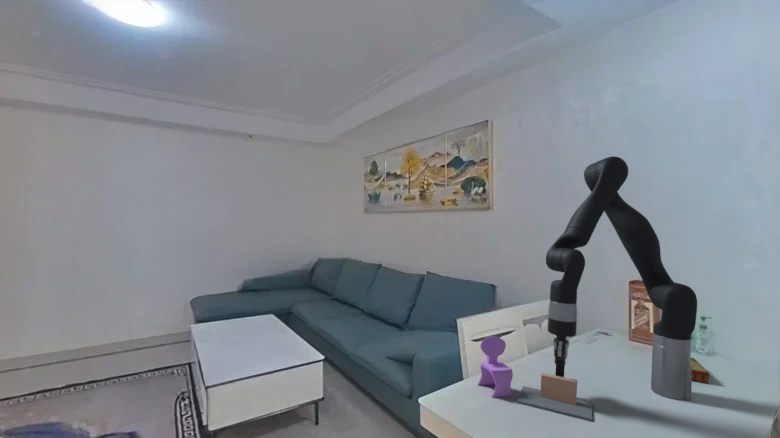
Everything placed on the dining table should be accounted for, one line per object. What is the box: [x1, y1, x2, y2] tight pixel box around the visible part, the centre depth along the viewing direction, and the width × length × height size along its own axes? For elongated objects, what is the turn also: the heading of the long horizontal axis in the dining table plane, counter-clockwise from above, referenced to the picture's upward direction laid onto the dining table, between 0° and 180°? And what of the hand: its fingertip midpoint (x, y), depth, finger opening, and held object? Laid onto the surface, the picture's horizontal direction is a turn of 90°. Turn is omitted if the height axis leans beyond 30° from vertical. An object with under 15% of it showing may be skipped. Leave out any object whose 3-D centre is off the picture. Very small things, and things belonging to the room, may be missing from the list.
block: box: [540, 372, 578, 405], centre depth 105 cm, size 9×2×6 cm, turn 62°
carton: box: [690, 357, 710, 385], centre depth 131 cm, size 8×16×4 cm, turn 155°
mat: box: [516, 385, 593, 422], centre depth 104 cm, size 18×11×1 cm, turn 63°
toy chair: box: [477, 335, 514, 398], centre depth 110 cm, size 8×9×15 cm
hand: (559, 377), depth 109 cm, fingers closed
